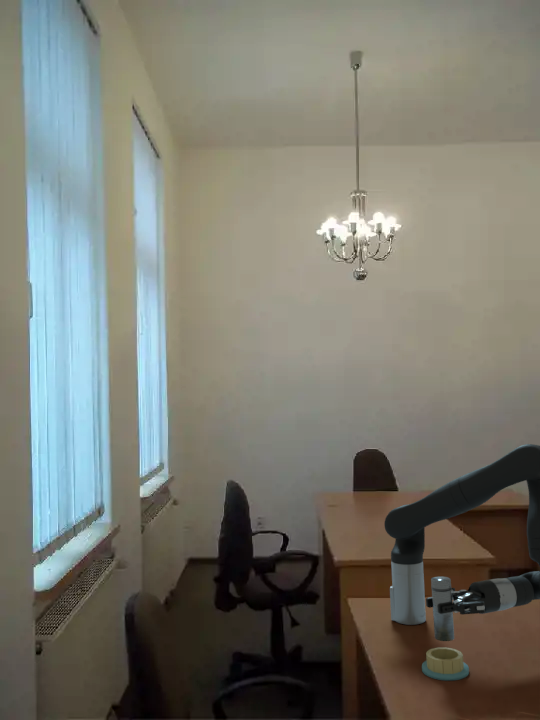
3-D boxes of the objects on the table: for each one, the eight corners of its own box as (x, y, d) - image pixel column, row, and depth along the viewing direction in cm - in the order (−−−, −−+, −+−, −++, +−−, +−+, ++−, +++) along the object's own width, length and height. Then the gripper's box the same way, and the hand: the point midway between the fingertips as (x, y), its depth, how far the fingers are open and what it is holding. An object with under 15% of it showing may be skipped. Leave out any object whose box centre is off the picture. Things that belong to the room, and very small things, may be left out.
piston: (431, 639, 169) (427, 580, 169) (438, 633, 173) (435, 575, 173) (450, 642, 166) (446, 582, 167) (457, 636, 170) (453, 577, 171)
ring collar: (414, 674, 168) (414, 657, 168) (432, 658, 177) (431, 642, 177) (459, 684, 162) (458, 666, 162) (475, 667, 171) (474, 650, 171)
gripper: (474, 573, 181) (416, 582, 176) (510, 587, 168) (448, 598, 162) (476, 602, 181) (418, 613, 175) (512, 619, 167) (450, 631, 162)
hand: (432, 605), depth 169 cm, fingers closed on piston, 4 cm apart
